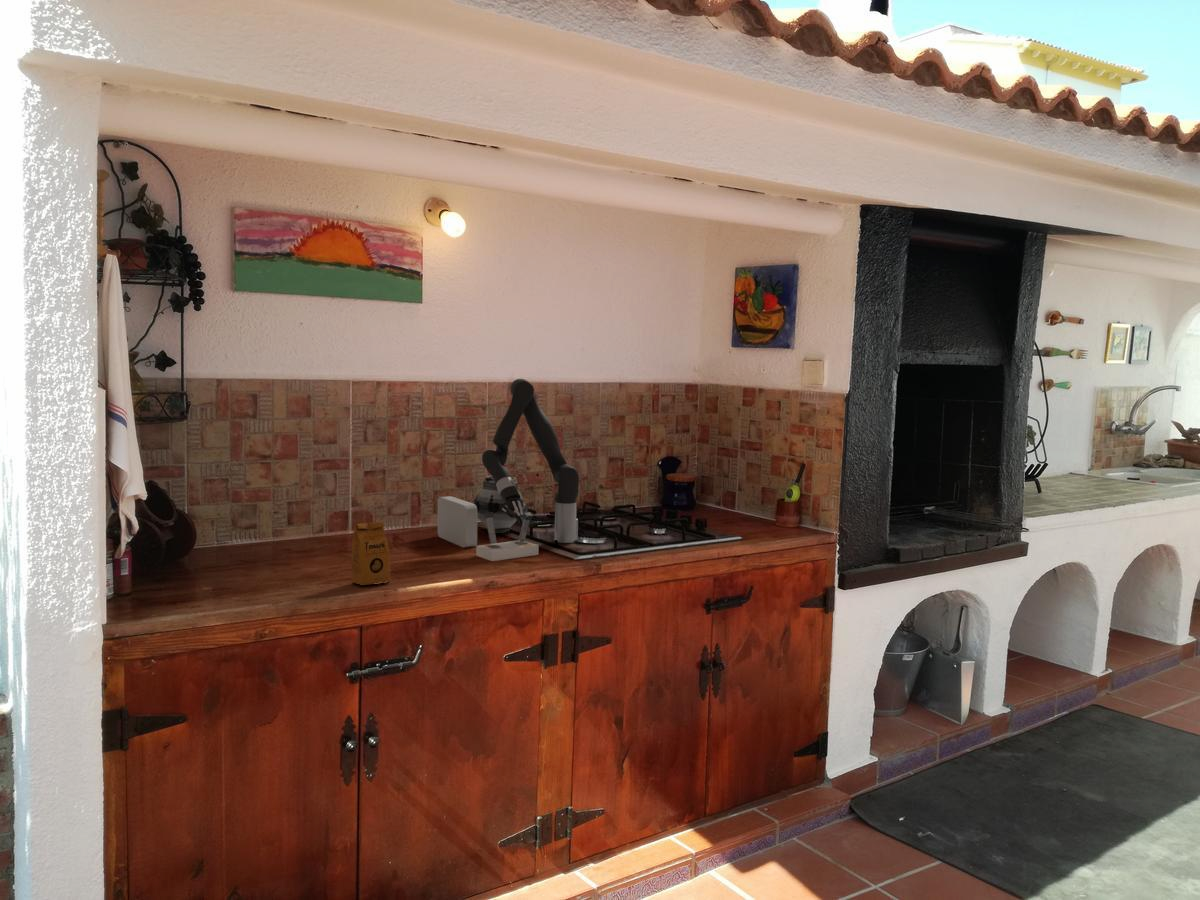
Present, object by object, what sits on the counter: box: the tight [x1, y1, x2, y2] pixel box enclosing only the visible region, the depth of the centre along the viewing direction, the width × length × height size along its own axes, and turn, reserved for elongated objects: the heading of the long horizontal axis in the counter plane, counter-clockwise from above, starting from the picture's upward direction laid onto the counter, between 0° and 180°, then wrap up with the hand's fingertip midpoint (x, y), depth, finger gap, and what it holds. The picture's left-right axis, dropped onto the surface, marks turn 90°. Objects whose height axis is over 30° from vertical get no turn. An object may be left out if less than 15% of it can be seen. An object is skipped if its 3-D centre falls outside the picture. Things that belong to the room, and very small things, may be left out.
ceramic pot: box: [473, 475, 525, 534], centre depth 438 cm, size 29×23×25 cm
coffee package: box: [351, 520, 391, 586], centre depth 338 cm, size 10×12×22 cm
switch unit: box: [475, 539, 539, 562], centre depth 389 cm, size 22×12×4 cm, turn 128°
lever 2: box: [517, 511, 534, 542], centre depth 390 cm, size 3×3×12 cm
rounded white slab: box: [437, 495, 478, 548], centre depth 413 cm, size 29×8×18 cm, turn 33°
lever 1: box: [484, 512, 498, 544], centre depth 386 cm, size 3×3×12 cm
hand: (523, 524), depth 391 cm, fingers closed
